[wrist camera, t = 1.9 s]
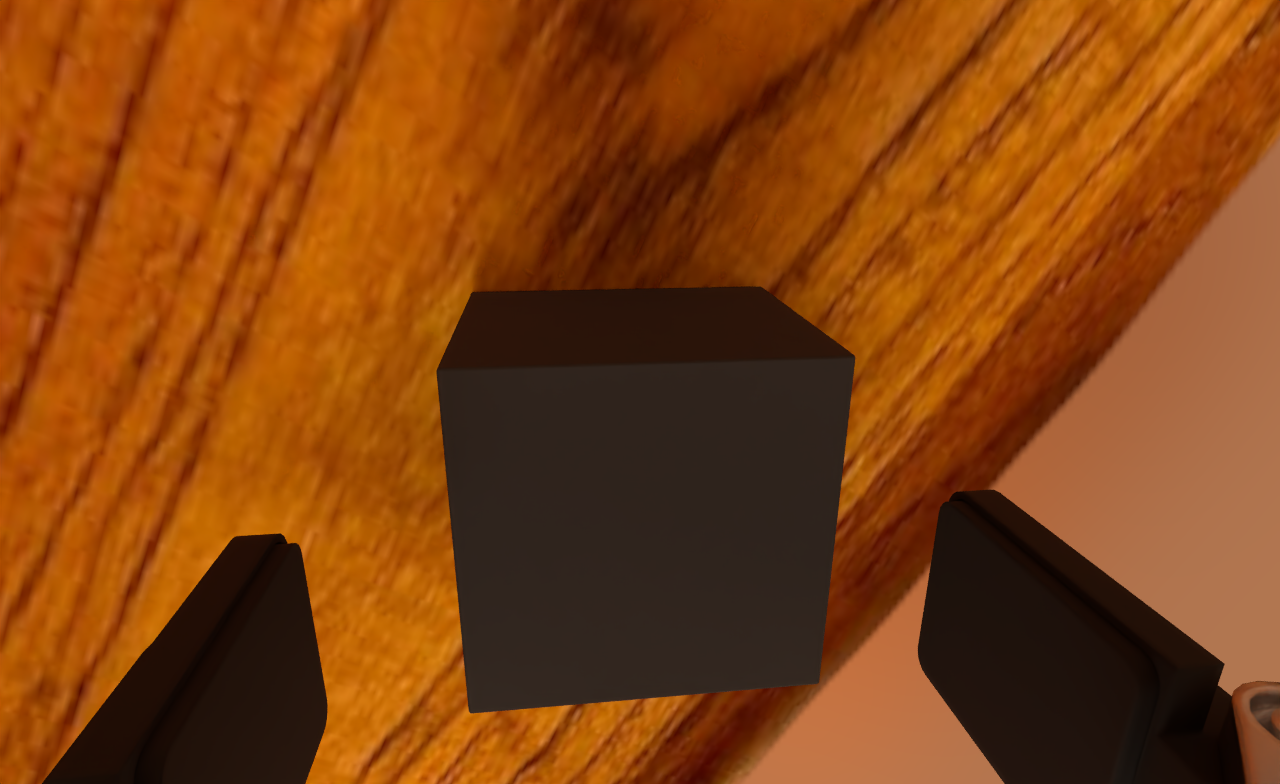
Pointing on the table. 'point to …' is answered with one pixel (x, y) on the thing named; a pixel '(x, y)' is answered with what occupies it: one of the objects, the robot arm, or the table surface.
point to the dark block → (640, 492)
